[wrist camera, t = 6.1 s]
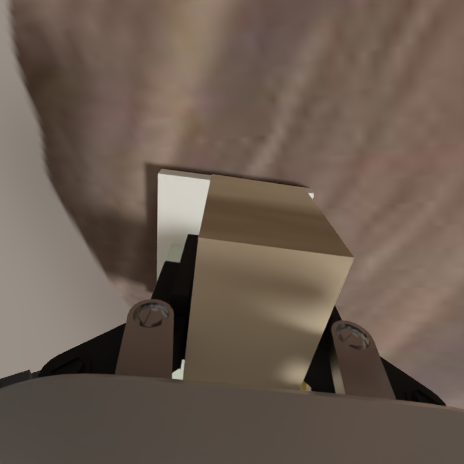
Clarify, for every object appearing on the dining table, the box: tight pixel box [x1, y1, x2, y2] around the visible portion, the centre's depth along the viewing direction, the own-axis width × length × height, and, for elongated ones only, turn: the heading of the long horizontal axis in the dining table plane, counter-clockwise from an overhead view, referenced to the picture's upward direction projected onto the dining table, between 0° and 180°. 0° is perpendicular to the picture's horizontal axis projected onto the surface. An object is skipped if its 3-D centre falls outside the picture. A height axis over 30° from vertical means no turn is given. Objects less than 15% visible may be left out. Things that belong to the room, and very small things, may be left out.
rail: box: [183, 174, 354, 390], centre depth 12 cm, size 16×4×6 cm, turn 171°
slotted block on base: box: [151, 169, 314, 380], centre depth 25 cm, size 15×14×12 cm
